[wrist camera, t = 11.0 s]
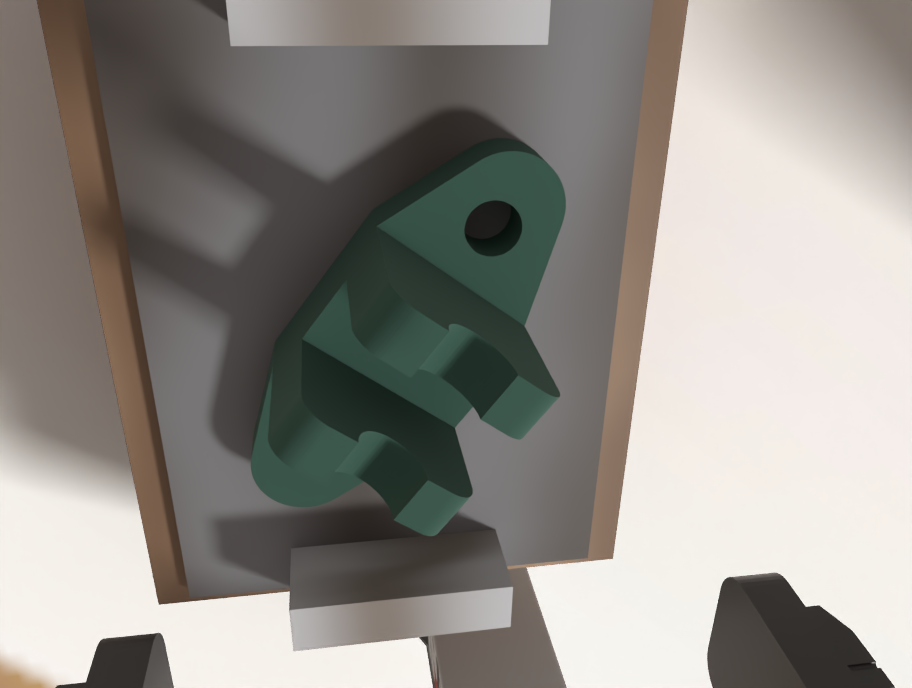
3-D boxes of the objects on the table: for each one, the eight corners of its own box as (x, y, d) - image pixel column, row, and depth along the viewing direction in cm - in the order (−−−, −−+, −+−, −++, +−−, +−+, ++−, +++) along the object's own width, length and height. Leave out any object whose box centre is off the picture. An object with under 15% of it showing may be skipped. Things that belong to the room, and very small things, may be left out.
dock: (592, -73, 25) (758, -68, 16) (551, 429, 33) (644, 624, 24) (104, -81, 23) (-32, -81, 14) (191, 456, 31) (142, 681, 22)
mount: (460, 91, 18) (507, 145, 14) (599, 202, 20) (681, 280, 16) (204, 436, 21) (177, 570, 17) (345, 507, 23) (354, 644, 19)
